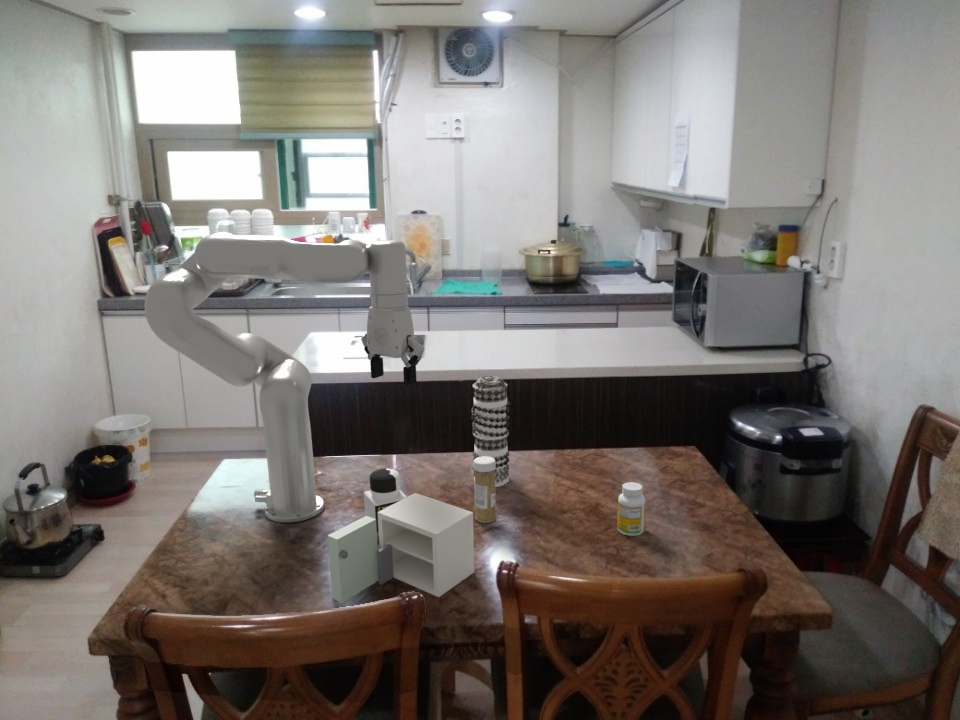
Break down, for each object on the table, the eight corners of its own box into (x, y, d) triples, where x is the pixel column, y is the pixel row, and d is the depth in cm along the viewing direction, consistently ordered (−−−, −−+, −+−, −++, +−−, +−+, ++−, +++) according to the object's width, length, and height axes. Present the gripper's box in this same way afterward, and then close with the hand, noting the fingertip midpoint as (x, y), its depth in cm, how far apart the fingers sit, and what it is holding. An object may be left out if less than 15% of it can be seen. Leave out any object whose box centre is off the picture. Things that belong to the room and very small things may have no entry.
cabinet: (360, 575, 133) (356, 515, 130) (409, 546, 143) (406, 490, 140) (427, 605, 124) (424, 541, 121) (474, 572, 134) (473, 512, 130)
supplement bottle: (627, 521, 152) (628, 478, 149) (649, 530, 148) (651, 485, 146) (611, 530, 148) (613, 486, 146) (634, 539, 144) (636, 494, 142)
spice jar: (500, 520, 153) (499, 460, 150) (482, 526, 151) (481, 465, 147) (488, 512, 157) (487, 453, 154) (470, 517, 155) (469, 458, 151)
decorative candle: (515, 485, 170) (515, 382, 164) (476, 489, 168) (475, 385, 162) (505, 470, 178) (504, 372, 172) (468, 474, 176) (466, 375, 170)
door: (332, 598, 126) (327, 535, 123) (370, 575, 133) (366, 515, 130) (344, 604, 124) (340, 540, 121) (382, 581, 131) (379, 520, 128)
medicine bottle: (376, 537, 147) (373, 482, 144) (365, 522, 153) (361, 469, 150) (409, 528, 150) (407, 474, 147) (396, 515, 156) (394, 462, 153)
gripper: (347, 299, 153) (352, 378, 157) (407, 307, 143) (411, 391, 147) (373, 294, 159) (377, 370, 163) (433, 302, 148) (435, 382, 153)
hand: (393, 380), depth 155 cm, fingers open, 9 cm apart
